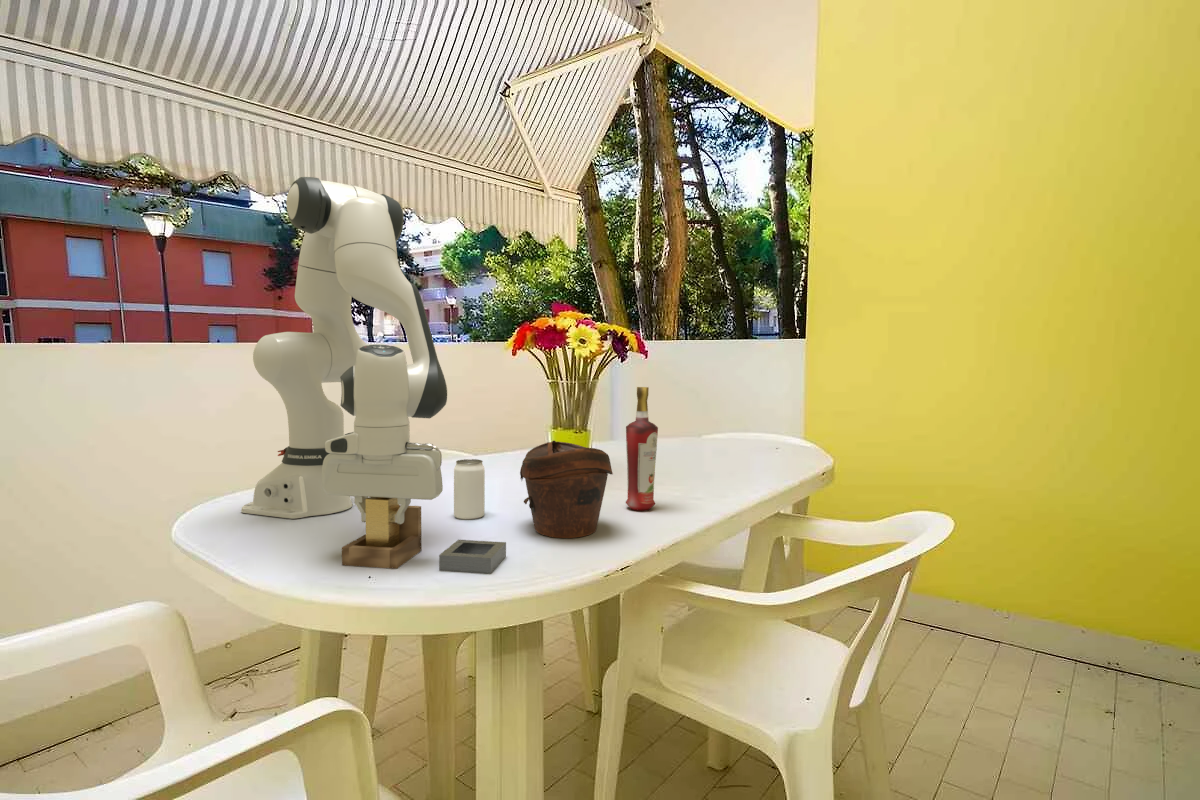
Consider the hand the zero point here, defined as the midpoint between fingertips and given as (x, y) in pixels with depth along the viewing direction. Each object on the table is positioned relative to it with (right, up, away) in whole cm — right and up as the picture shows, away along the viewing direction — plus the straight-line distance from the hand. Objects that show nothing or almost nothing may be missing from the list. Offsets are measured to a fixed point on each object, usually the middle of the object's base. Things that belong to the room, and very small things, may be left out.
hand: (382, 522), depth 105 cm
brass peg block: (0, -5, 0) cm, 5 cm away
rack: (0, -6, 0) cm, 6 cm away
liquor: (+46, -4, +38) cm, 60 cm away
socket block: (+16, -6, -2) cm, 17 cm away
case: (+30, -5, +20) cm, 36 cm away
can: (+9, -5, +28) cm, 30 cm away
